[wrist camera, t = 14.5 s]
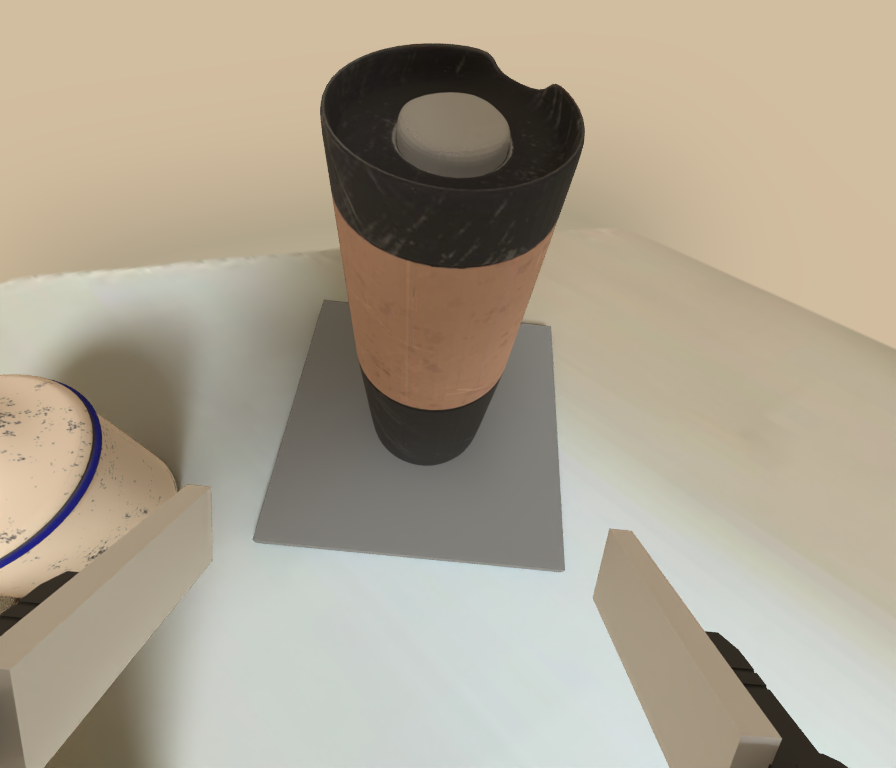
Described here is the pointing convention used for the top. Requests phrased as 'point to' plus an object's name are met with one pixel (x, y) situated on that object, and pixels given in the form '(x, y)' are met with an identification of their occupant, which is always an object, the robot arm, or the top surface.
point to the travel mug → (441, 228)
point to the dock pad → (418, 467)
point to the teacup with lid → (66, 483)
